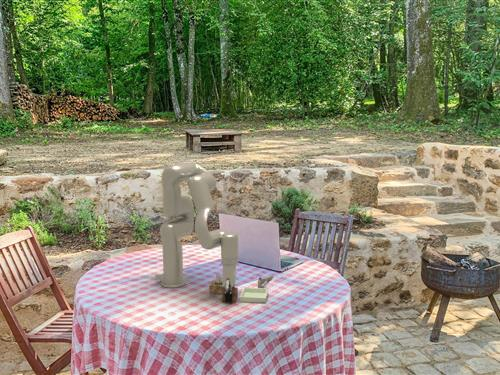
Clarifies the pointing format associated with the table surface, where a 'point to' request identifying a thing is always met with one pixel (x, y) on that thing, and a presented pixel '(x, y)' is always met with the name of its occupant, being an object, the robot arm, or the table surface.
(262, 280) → the caliper
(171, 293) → the table surface
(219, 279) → the pin
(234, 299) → the block
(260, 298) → the tray
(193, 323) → the table surface
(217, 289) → the brown hex nut
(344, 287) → the table surface
